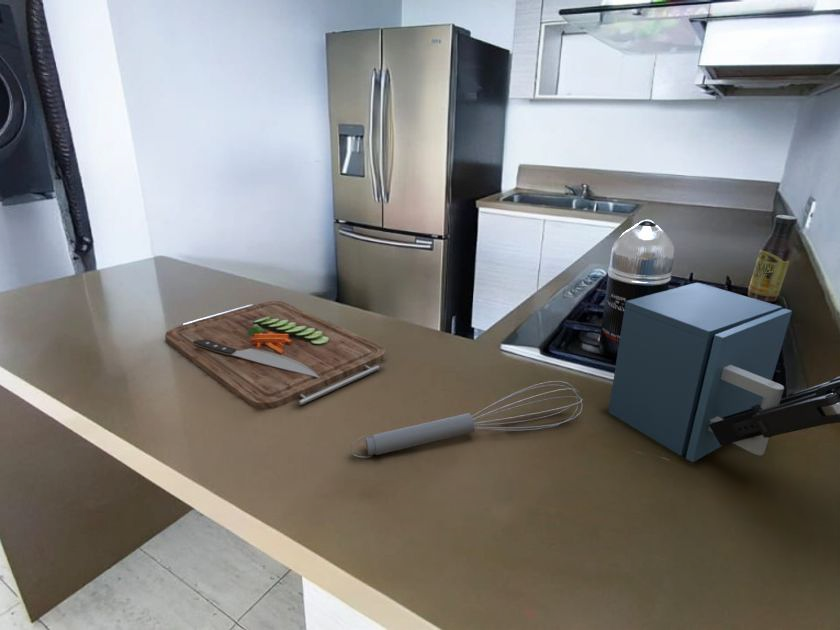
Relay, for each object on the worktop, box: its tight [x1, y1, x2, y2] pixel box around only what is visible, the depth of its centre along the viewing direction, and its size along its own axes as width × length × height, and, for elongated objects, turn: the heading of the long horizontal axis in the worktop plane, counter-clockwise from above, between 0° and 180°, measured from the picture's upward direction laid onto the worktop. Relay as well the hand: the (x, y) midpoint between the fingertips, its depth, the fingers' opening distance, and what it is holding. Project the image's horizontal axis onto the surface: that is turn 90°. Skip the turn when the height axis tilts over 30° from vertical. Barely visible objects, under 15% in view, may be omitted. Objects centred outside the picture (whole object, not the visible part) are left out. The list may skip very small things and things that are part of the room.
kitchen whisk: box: [350, 380, 584, 459], centre depth 69 cm, size 6×34×6 cm, turn 106°
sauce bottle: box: [747, 214, 798, 303], centre depth 117 cm, size 7×6×20 cm
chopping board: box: [164, 300, 386, 410], centre depth 97 cm, size 45×27×3 cm, turn 46°
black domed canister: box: [598, 219, 676, 361], centre depth 90 cm, size 10×10×25 cm
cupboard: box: [608, 281, 783, 457], centre depth 71 cm, size 12×16×18 cm
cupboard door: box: [685, 308, 793, 463], centre depth 63 cm, size 7×16×18 cm, turn 121°
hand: (722, 430), depth 63 cm, fingers closed on cupboard door, 2 cm apart
